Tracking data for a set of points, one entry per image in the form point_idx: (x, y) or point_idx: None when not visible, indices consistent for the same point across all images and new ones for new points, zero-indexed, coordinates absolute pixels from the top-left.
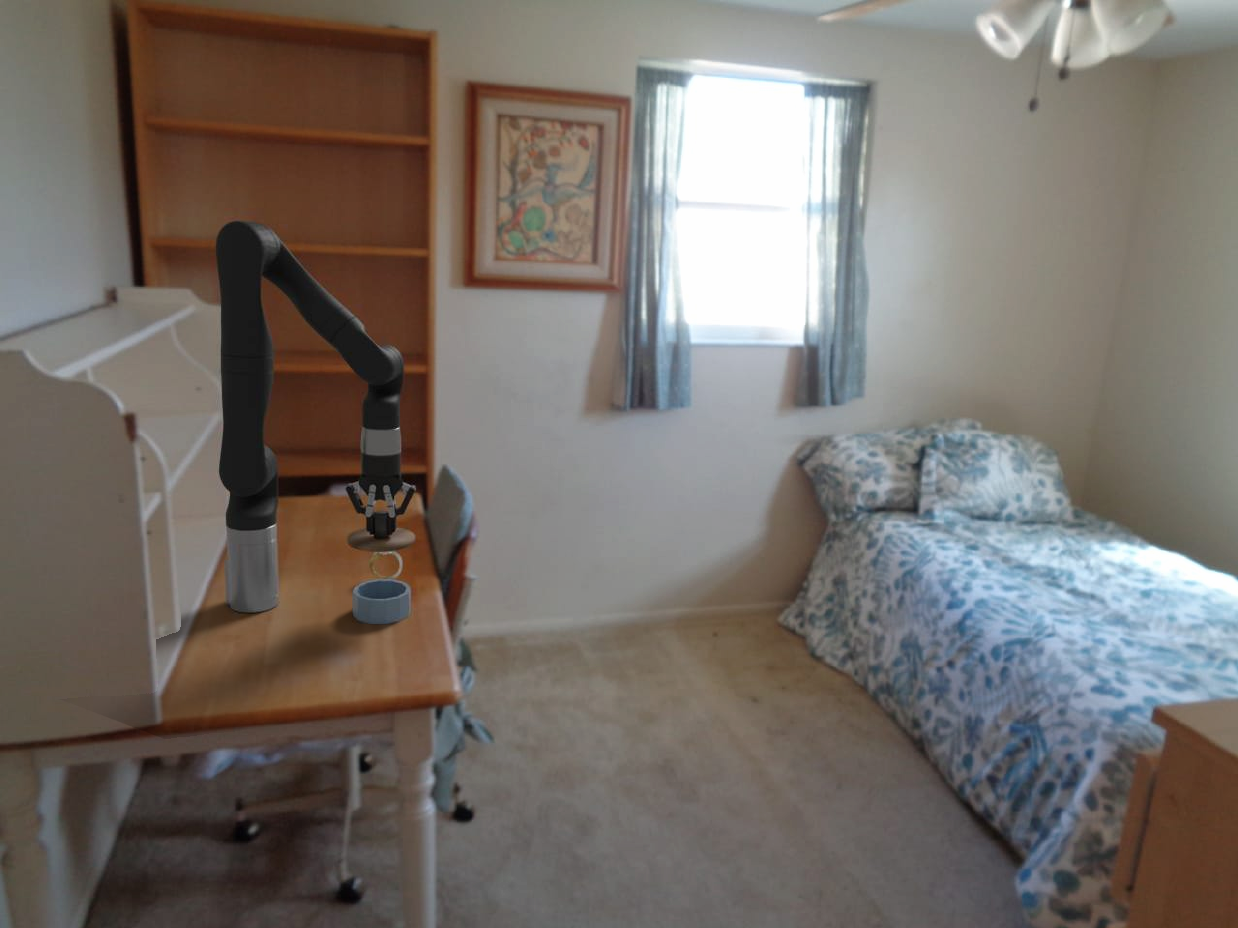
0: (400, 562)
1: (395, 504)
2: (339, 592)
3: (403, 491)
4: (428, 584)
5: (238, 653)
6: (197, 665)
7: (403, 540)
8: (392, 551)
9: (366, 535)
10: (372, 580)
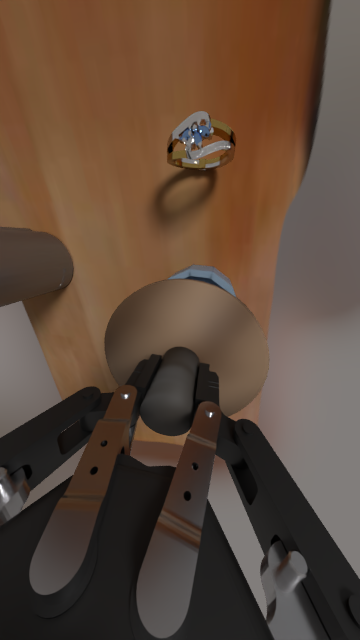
0: (230, 153)
1: (215, 443)
2: (135, 224)
3: (265, 588)
4: (278, 187)
5: (83, 370)
6: (64, 382)
7: (234, 391)
8: (212, 143)
9: (144, 349)
10: (179, 273)
